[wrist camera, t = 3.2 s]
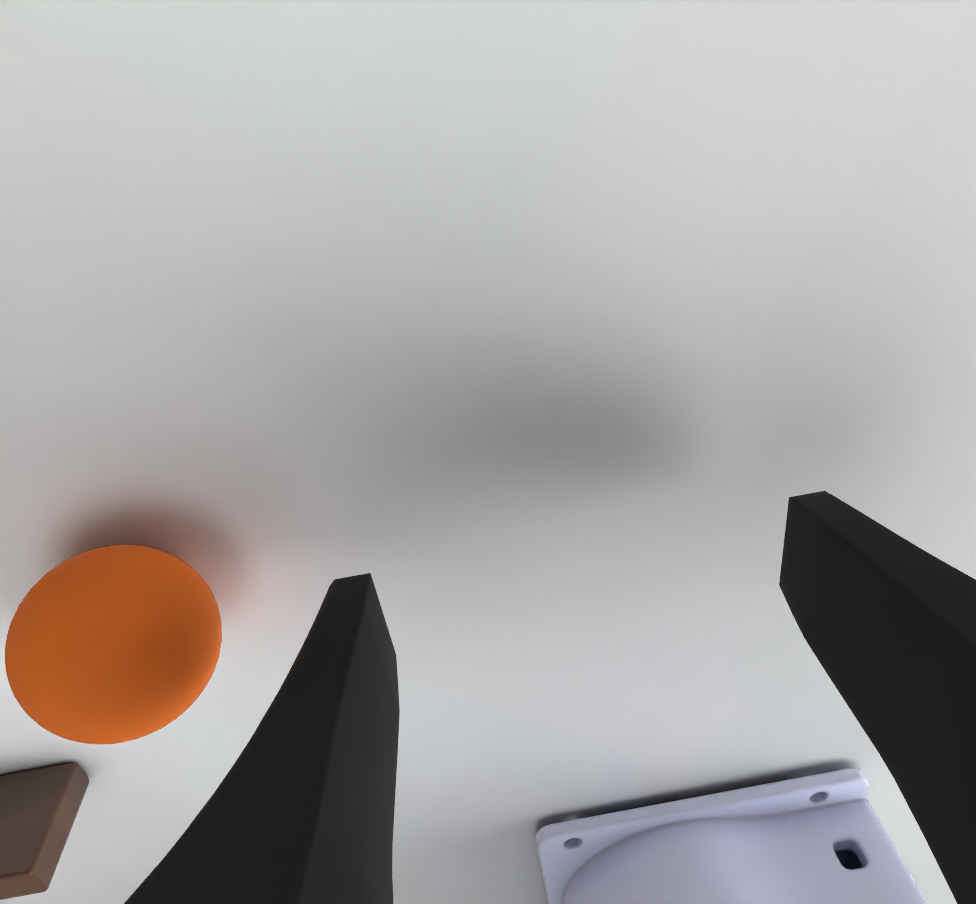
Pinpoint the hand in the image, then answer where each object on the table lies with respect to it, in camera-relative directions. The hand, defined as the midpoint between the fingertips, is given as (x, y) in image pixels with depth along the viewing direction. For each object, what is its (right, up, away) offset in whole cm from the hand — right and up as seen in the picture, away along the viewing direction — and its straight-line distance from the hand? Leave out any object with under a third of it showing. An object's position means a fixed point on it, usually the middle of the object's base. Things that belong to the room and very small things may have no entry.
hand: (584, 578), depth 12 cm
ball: (-8, -1, 0) cm, 8 cm away
